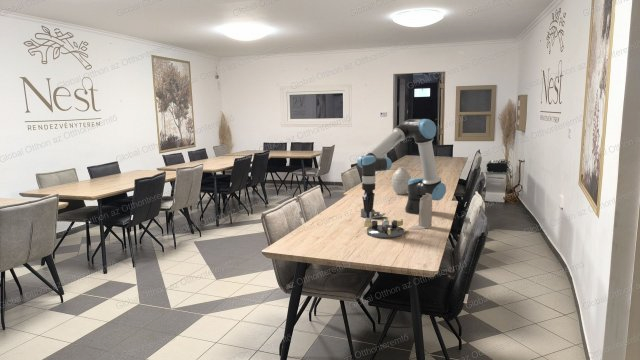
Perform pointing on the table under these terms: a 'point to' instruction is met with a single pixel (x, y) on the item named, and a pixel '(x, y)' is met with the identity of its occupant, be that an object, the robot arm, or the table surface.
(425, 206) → the grey upright bracket
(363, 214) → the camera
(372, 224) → the knob
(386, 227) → the knob
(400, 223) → the knob
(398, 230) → the level base
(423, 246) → the table surface
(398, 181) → the vase
